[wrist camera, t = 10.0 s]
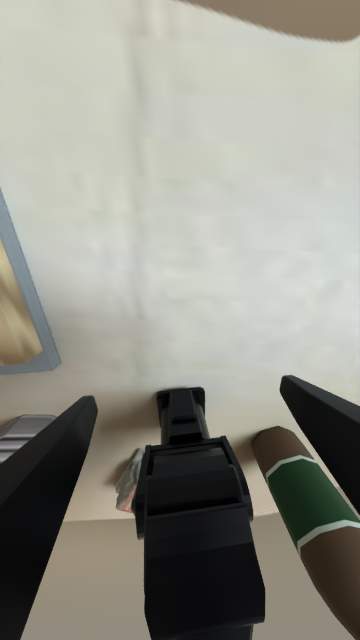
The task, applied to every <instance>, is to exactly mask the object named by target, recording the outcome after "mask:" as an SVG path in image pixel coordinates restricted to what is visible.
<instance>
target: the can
mask: <svg viewBox="0 0 360 640" xmlns="http://www.w3.org/2000/svg"><path fill="white" fill-rule="evenodd" d="M56 418H57V417H56V416H53V415H22V416H21V417H19V418H17V419H15V420H14V421H12V422H10V423H8V424H7V425H5V426H3V428H2V429H1V430H0V464H1V463H2V462H3V461H5V460H6V459H7V458H8V457H9V456H11V455H12V454H13V453H14V452H16V451H17V450H18V449H19V448H20V447H22V446H23V445H24V444H25V443H27V442H28V441H29V440H30V439H31V438H33V437H34V436H35V435H36V434H38V433H39V432H40V431H41V430H42V429H44V428H45V427H46V426H47V425H49V424H50V423H51V422H52V421H53V420H55V419H56Z"/></svg>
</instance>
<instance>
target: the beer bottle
mask: <svg viewBox="0 0 360 640" xmlns="http://www.w3.org/2000/svg"><path fill="white" fill-rule="evenodd" d="M252 445H253V450H254V455H255V458H256V460H257V463H258V465H259V468H260V470H261V472H262V474H263V477H264V479H265V481H266V483H267V485H268V488H269V490H270V492H271V494H272V496H273V499H274V501H275V503H276V505H277V507H278V510H279V512H280V514H281V516H282V518H283V521H284V523H285V525H286V527H287V530H288V532H289V534H290V536H291V538H292V541H293V543H294V545H295V547H296V549H297V552H298V554H299V556H300V558H301V560H302V562H303V564H304V566H305V568H306V570H307V572H308V574H309V576H310V578H311V580H312V582H313V584H314V586H315V588H316V589H317V591H318V592H319V594H320V595H321V596H322V598H323V600H324V601H325V603H326V604H327V606H328V607H329V608H330V610H331V611H332V613H333V614H334V616H335V617H336V618H337V619H338V620H339V621H340V623H341V624H342V625H343V626H344V627H345V628H346V629H347V631H348V632H349V633H350V634H351V635H352V636H353V637H354V639H355V640H360V520H359V519H358V517H357V516H356V515H355V513H354V512H353V511H352V509H351V508H350V507H349V505H348V504H347V503H346V501H345V500H344V499H343V497H342V496H341V495H340V493H339V492H338V491H337V489H336V488H335V487H334V485H333V484H332V483H331V481H330V480H329V478H328V477H327V476H326V474H325V473H324V472H323V470H322V469H321V468H320V466H319V465H318V464H317V462H316V461H315V460H314V458H313V457H312V456H311V454H310V453H309V452H308V450H307V449H306V448H305V446H304V445H303V443H302V442H301V441H300V440H299V439H298V437H297V436H296V435H295V434H294V433H293V432H292V431H290V430H287V429H285V428H282V427H280V426H278V427H274V428H271V429H267V430H263V431H262V432H261V433H260V434H259V435H258V436H257V437H256V438H255V439H254V440H253V441H252Z"/></svg>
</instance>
